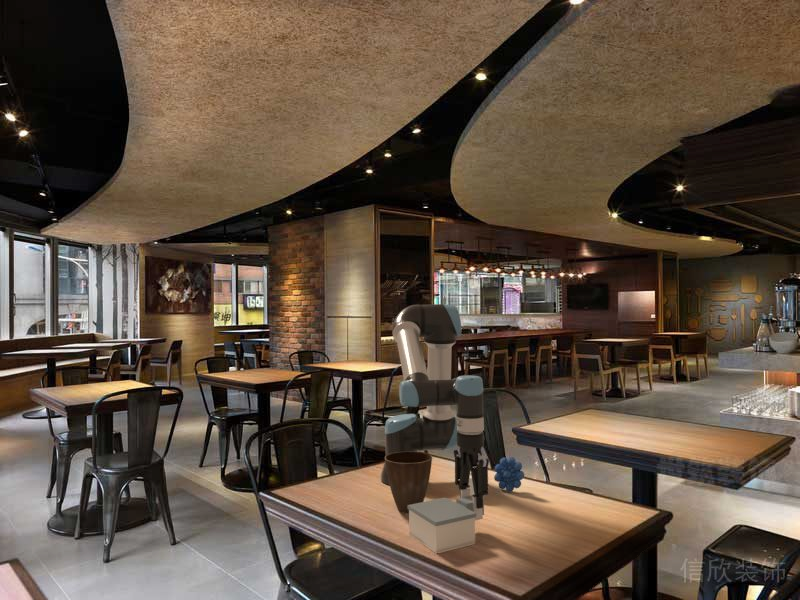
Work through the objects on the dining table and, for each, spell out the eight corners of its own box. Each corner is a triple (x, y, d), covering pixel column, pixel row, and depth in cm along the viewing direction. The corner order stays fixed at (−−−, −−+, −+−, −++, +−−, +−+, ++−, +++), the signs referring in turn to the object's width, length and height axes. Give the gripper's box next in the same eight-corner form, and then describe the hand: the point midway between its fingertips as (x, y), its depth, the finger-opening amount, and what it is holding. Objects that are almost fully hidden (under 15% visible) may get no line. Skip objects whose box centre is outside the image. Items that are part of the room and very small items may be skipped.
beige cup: (473, 492, 186) (473, 471, 186) (490, 497, 181) (489, 475, 181) (460, 497, 181) (460, 476, 181) (477, 502, 176) (477, 480, 176)
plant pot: (378, 504, 175) (377, 453, 176) (421, 497, 181) (420, 449, 181) (395, 520, 162) (394, 465, 162) (441, 512, 167) (440, 459, 168)
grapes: (531, 492, 185) (530, 456, 185) (520, 497, 180) (519, 460, 180) (501, 485, 193) (500, 450, 193) (490, 489, 188) (490, 454, 188)
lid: (407, 516, 151) (407, 501, 151) (463, 504, 160) (463, 490, 160) (435, 534, 138) (435, 518, 138) (494, 520, 147) (494, 505, 147)
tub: (409, 534, 151) (409, 508, 151) (446, 526, 156) (445, 501, 157) (436, 553, 138) (435, 525, 139) (475, 543, 144) (474, 516, 144)
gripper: (441, 427, 159) (442, 508, 158) (478, 439, 143) (480, 529, 142) (462, 424, 163) (464, 504, 162) (501, 436, 147) (503, 524, 146)
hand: (471, 515), depth 152 cm, fingers closed on lid, 5 cm apart
